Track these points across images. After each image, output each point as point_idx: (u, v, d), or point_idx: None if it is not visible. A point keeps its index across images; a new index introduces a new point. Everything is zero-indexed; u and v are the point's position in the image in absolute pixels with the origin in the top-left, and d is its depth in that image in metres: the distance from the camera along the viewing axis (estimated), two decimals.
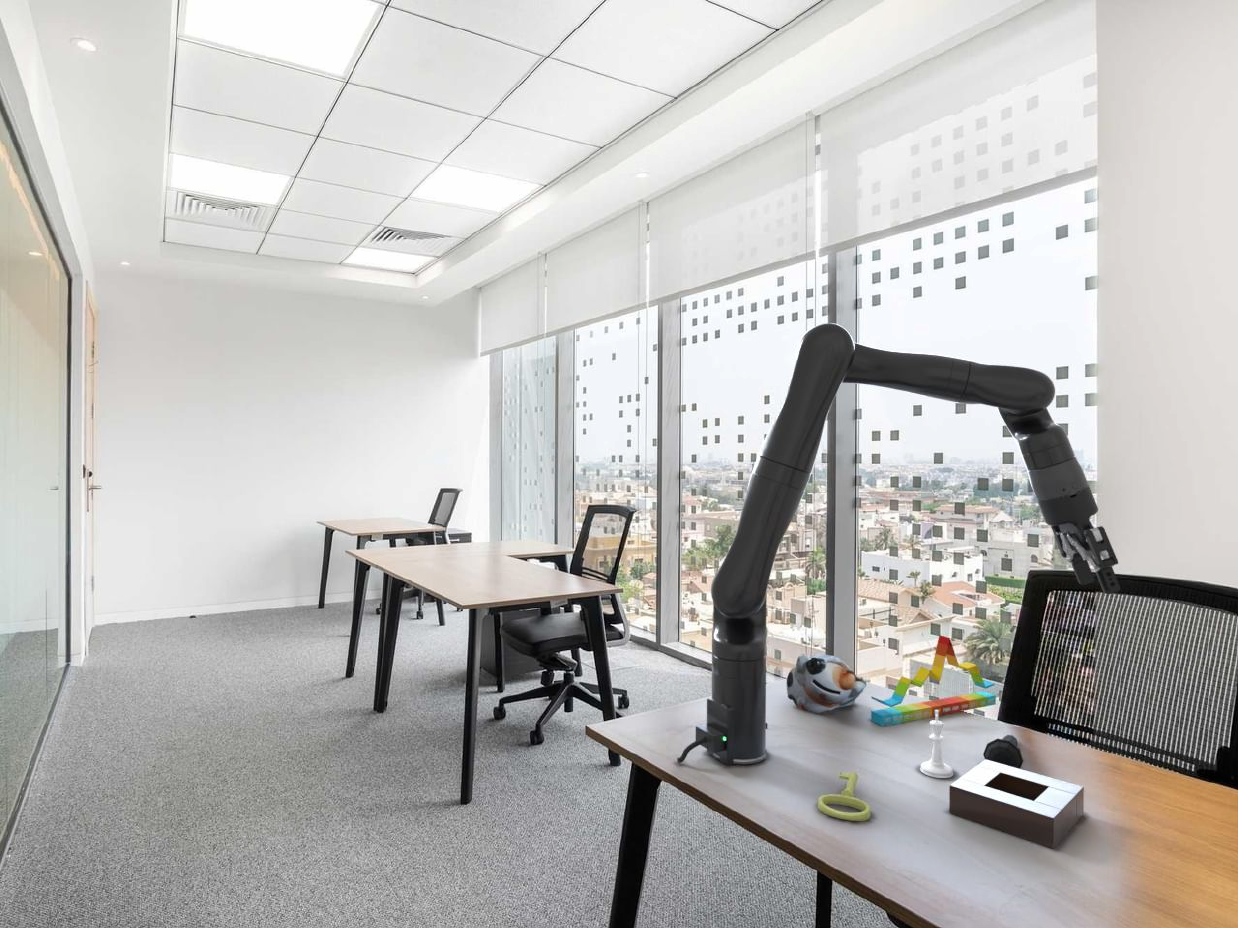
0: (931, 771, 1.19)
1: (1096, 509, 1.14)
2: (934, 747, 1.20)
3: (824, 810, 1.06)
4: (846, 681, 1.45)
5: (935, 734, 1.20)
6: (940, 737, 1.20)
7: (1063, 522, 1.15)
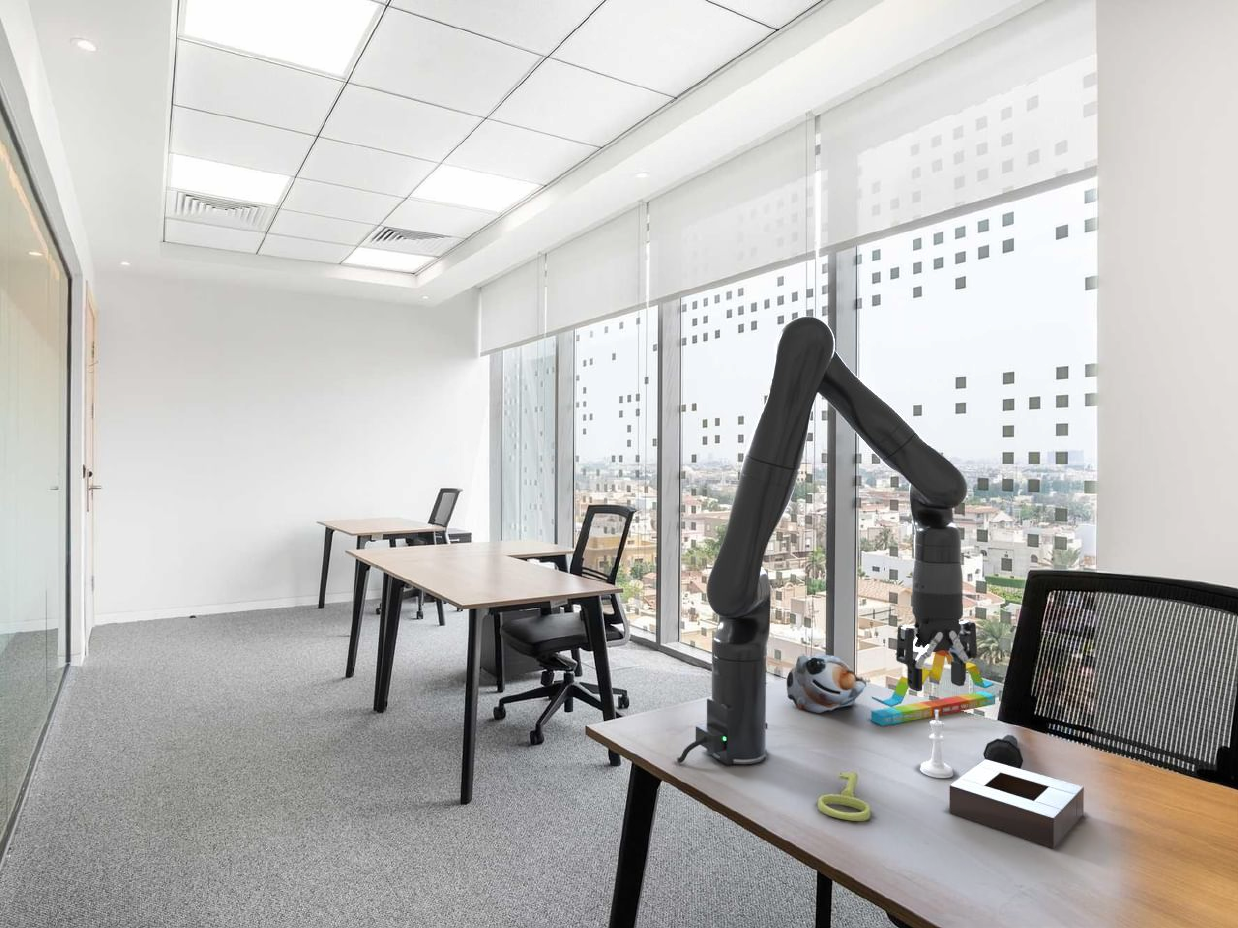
0: (931, 771, 1.19)
1: None
2: (934, 747, 1.20)
3: (824, 810, 1.06)
4: (846, 681, 1.45)
5: (935, 734, 1.20)
6: (940, 737, 1.20)
7: None
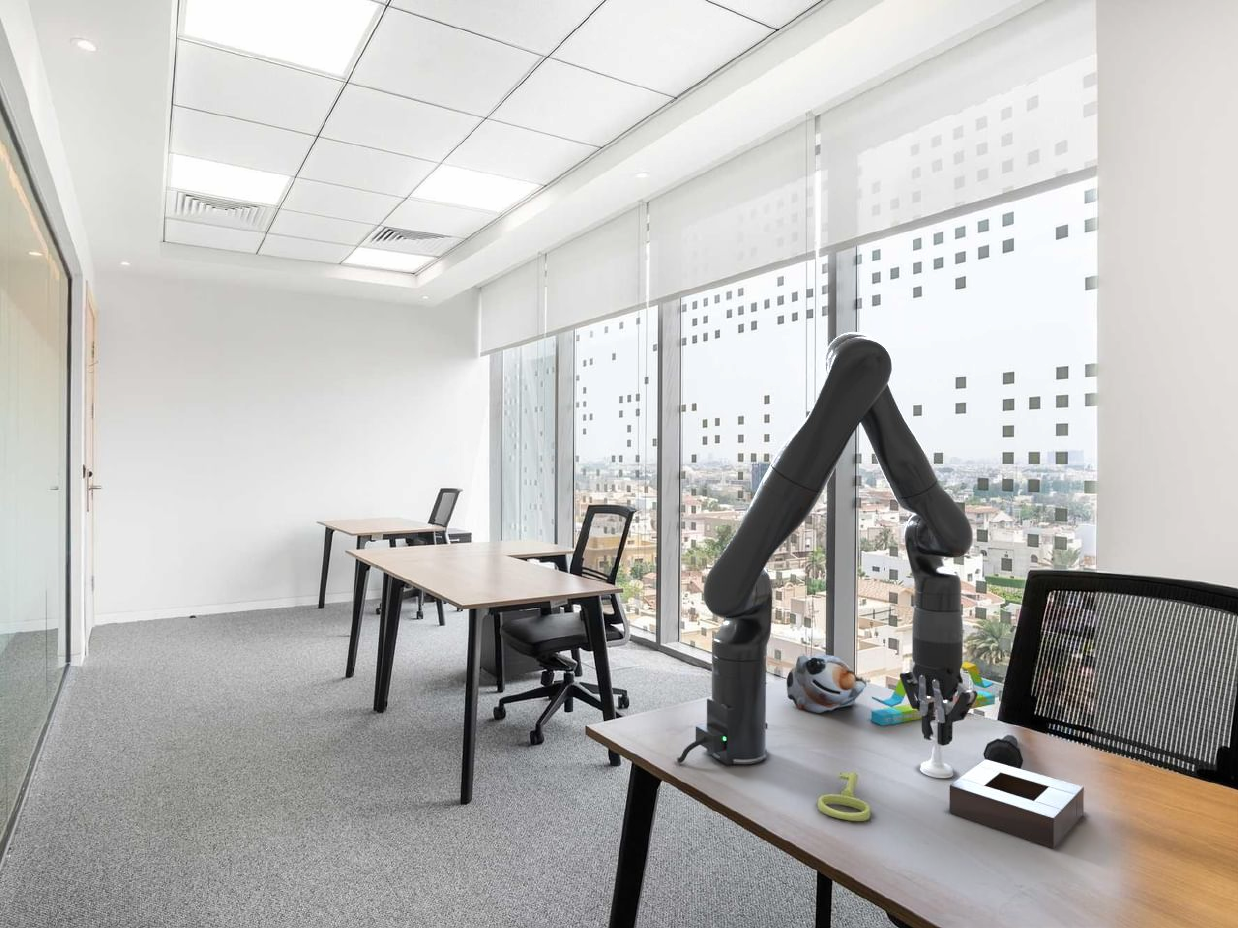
0: (931, 771, 1.19)
1: (912, 658, 1.21)
2: (934, 747, 1.20)
3: (824, 810, 1.06)
4: (846, 681, 1.45)
5: (935, 734, 1.20)
6: None
7: None
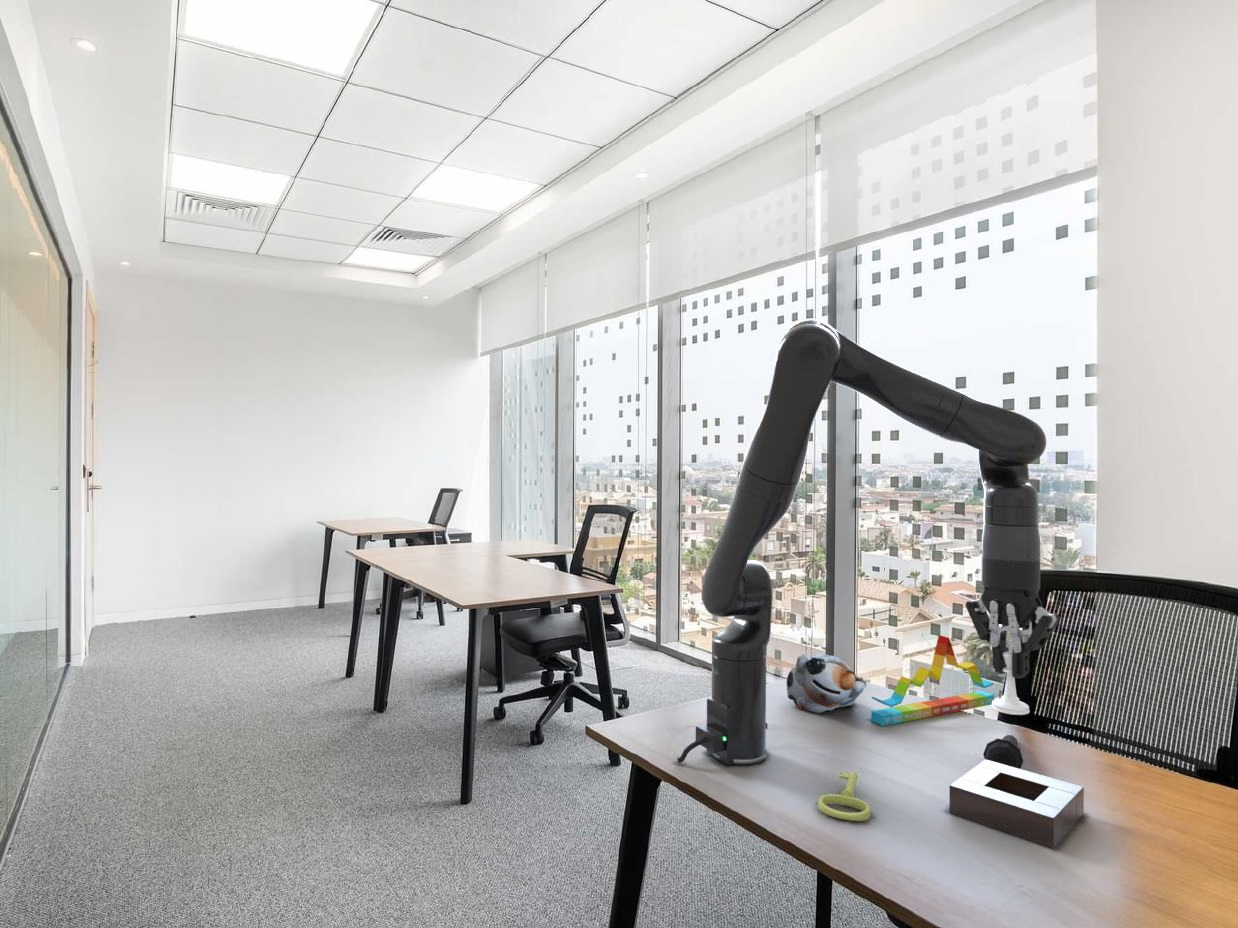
0: (1005, 707, 1.06)
1: (982, 582, 1.08)
2: (1008, 681, 1.07)
3: (824, 810, 1.06)
4: (846, 681, 1.45)
5: (1009, 666, 1.07)
6: None
7: None
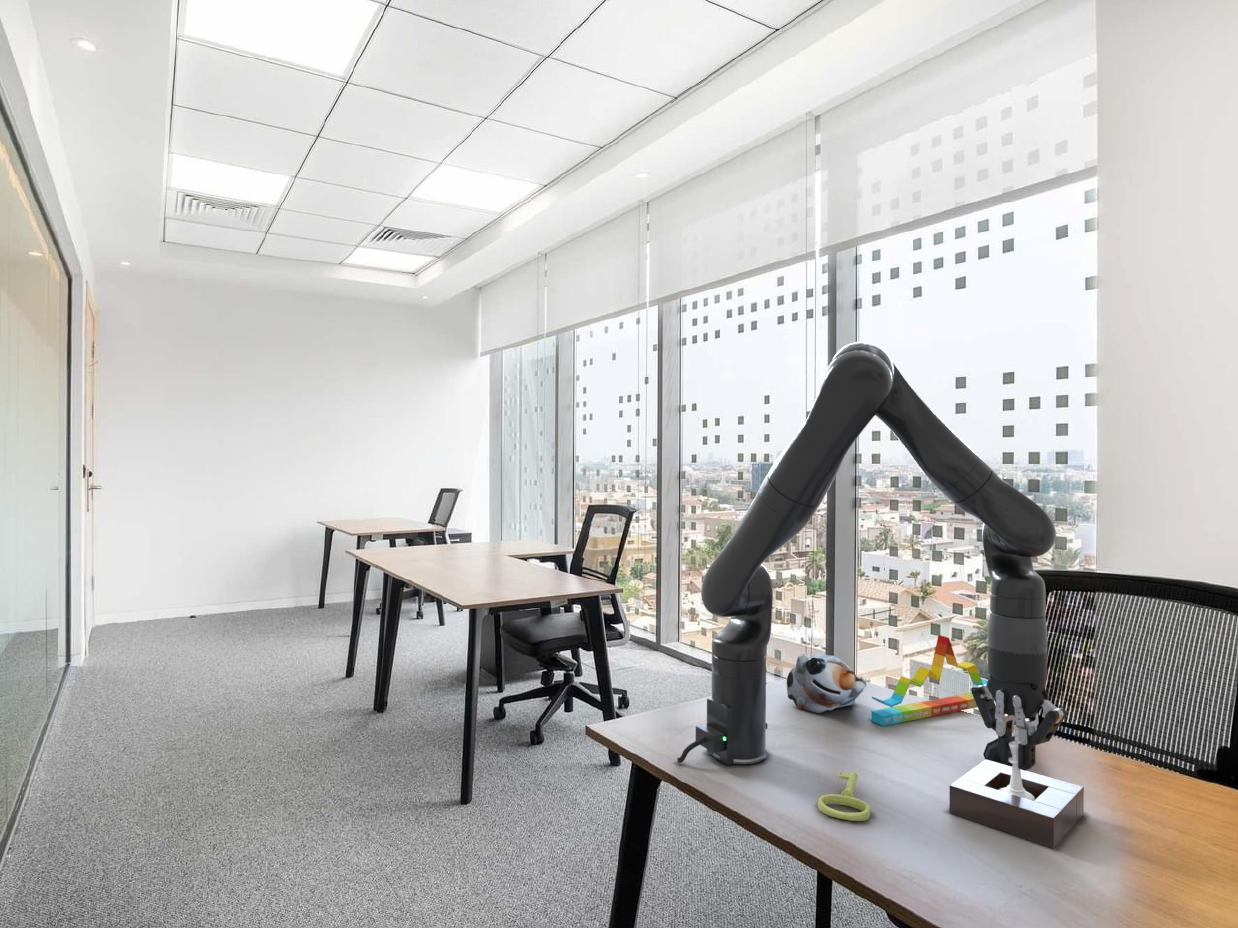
0: None
1: (988, 671, 1.07)
2: (1013, 772, 1.06)
3: (824, 810, 1.06)
4: (846, 681, 1.45)
5: (1015, 757, 1.06)
6: None
7: None
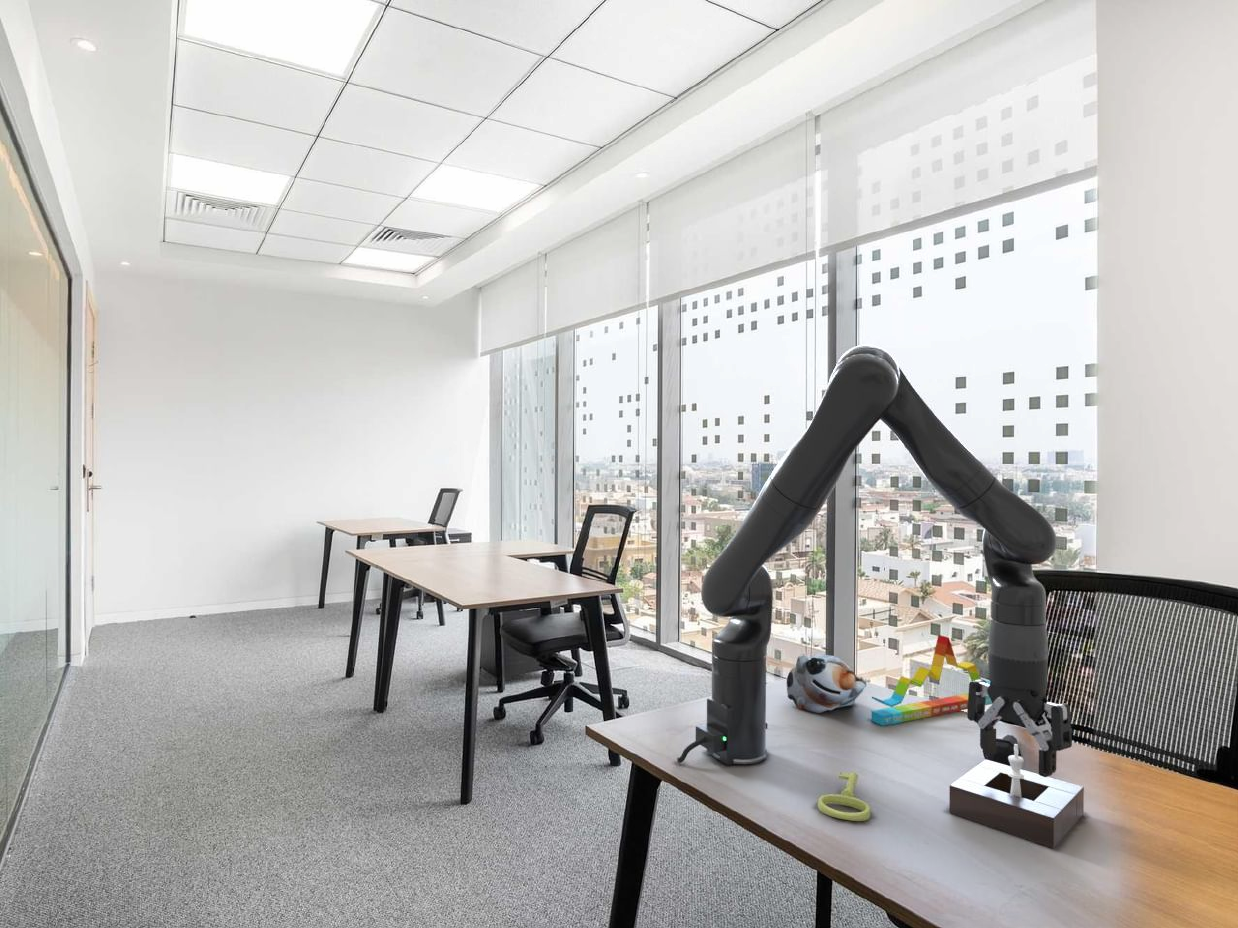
0: None
1: (989, 678, 1.07)
2: (1013, 786, 1.06)
3: (824, 810, 1.06)
4: (846, 681, 1.45)
5: (1014, 771, 1.06)
6: (1020, 775, 1.06)
7: None
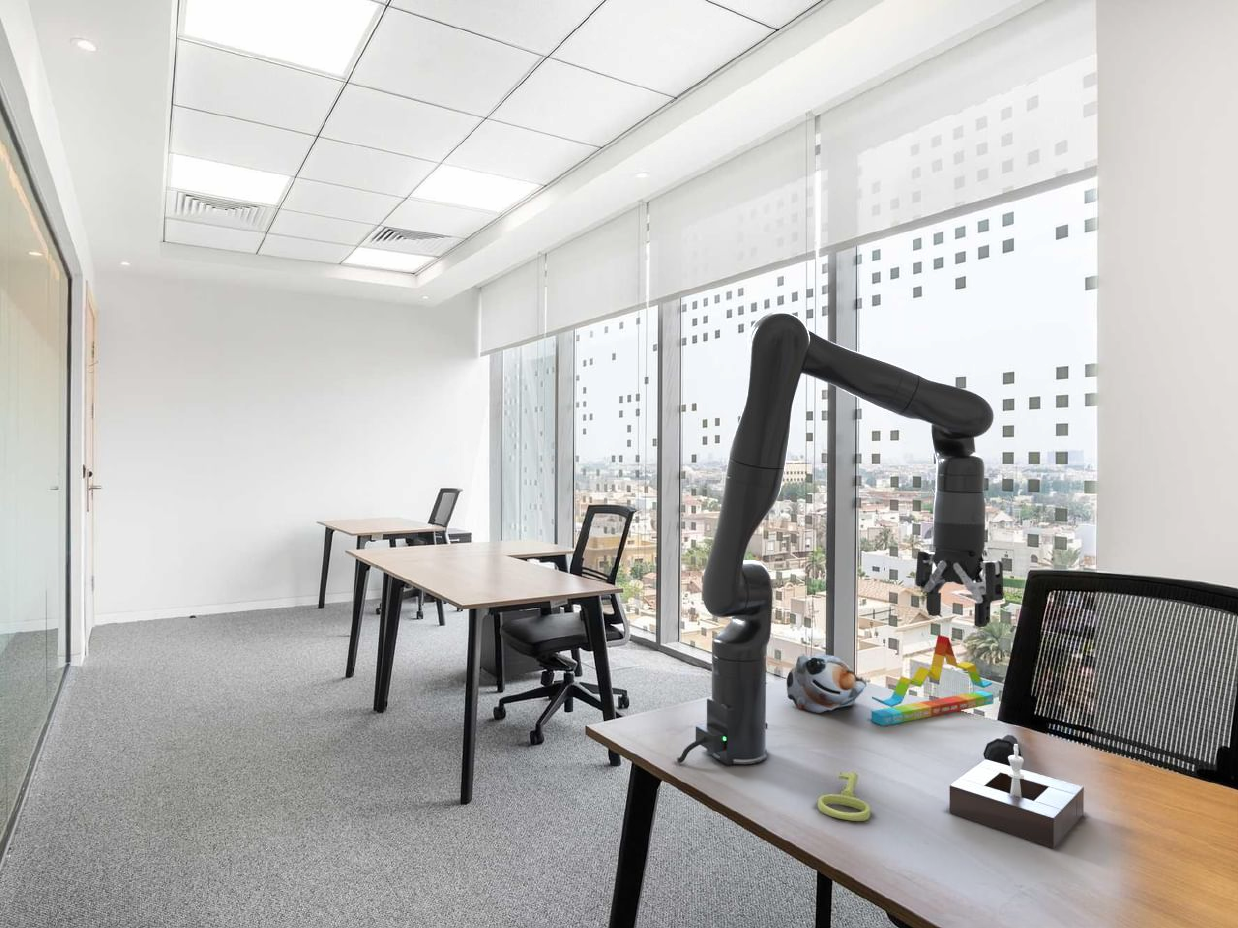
0: None
1: (933, 543, 1.19)
2: (1013, 786, 1.06)
3: (824, 810, 1.06)
4: (846, 681, 1.45)
5: (1014, 771, 1.06)
6: (1020, 775, 1.06)
7: None
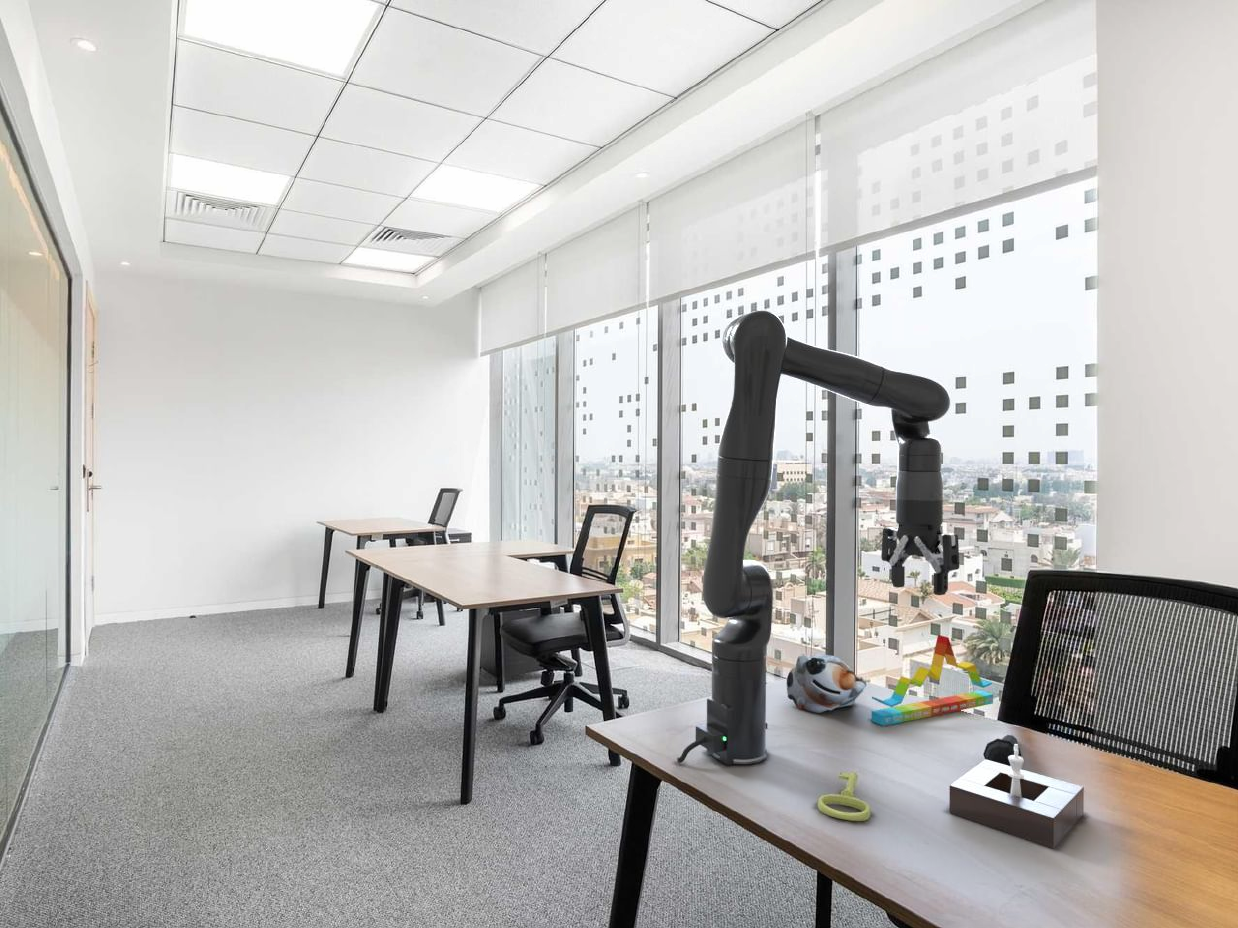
0: None
1: (896, 520, 1.29)
2: (1013, 786, 1.06)
3: (824, 810, 1.06)
4: (846, 681, 1.45)
5: (1014, 771, 1.06)
6: (1020, 775, 1.06)
7: None
